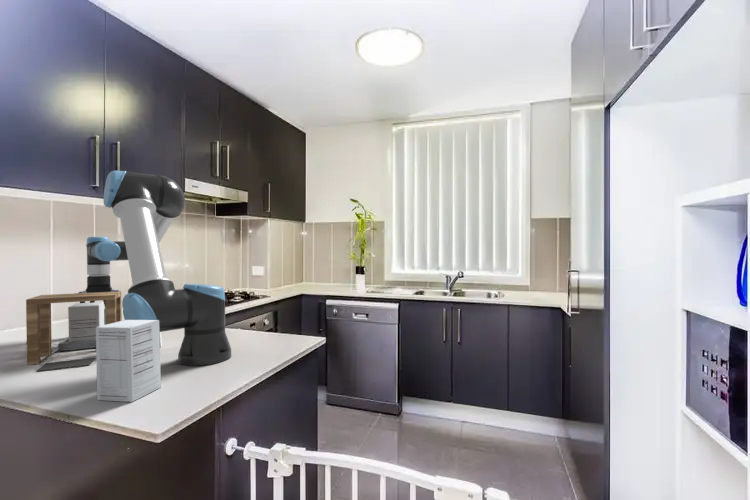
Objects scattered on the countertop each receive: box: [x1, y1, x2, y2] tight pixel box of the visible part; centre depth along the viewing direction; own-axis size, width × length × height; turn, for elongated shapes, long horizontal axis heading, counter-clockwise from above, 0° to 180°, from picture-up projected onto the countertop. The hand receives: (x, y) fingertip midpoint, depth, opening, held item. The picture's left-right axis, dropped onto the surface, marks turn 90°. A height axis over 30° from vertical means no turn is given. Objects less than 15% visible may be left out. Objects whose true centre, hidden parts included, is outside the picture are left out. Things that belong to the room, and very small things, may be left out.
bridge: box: [25, 290, 123, 366], centre depth 123 cm, size 12×22×20 cm, turn 116°
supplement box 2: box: [95, 319, 162, 403], centre depth 89 cm, size 10×9×17 cm
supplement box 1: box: [67, 301, 105, 350], centre depth 134 cm, size 9×9×15 cm
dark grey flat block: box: [36, 357, 96, 373], centre depth 112 cm, size 8×12×1 cm, turn 116°
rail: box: [37, 347, 59, 365], centre depth 129 cm, size 28×16×1 cm, turn 26°
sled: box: [57, 307, 106, 352], centre depth 141 cm, size 26×14×10 cm, turn 26°
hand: (99, 333), depth 151 cm, fingers closed on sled, 4 cm apart
